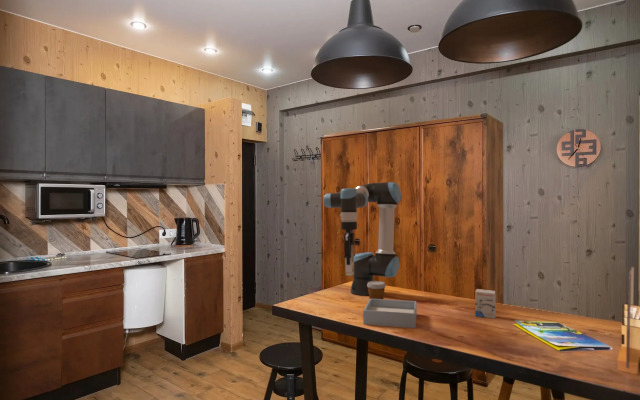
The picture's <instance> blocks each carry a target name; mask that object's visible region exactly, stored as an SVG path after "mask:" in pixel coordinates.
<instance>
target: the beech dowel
mask: <svg viewBox="0 0 640 400" xmlns="http://www.w3.org/2000/svg"><path fill="white" fill-rule="evenodd" d="M354 254H355V244H354V245H351V258H352V272H346V258H344V259H345V261H344V263H345V264H344V266H345V271H344V272H345V276H347V277H353V276H354Z"/></svg>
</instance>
